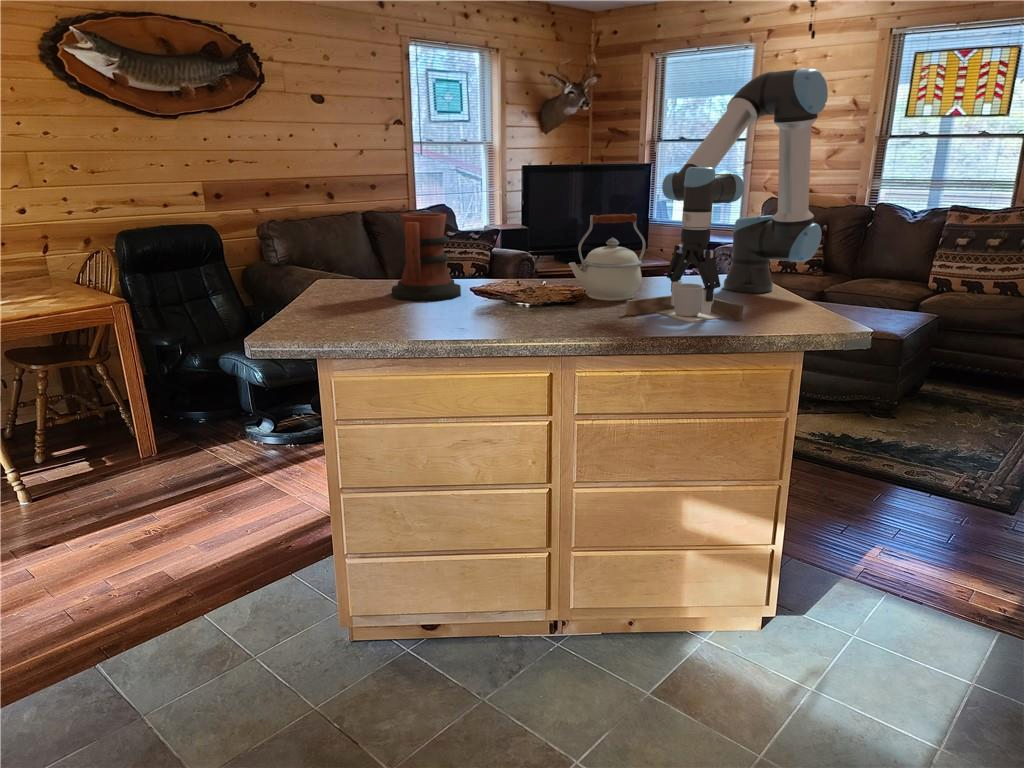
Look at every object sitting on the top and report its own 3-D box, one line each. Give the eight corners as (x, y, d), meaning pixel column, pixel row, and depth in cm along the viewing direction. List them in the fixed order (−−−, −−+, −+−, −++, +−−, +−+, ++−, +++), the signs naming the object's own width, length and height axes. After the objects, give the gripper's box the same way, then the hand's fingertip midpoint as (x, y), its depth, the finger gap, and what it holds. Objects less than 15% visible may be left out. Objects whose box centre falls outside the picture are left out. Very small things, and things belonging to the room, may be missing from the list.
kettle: (628, 289, 238) (632, 210, 230) (656, 299, 221) (661, 215, 214) (557, 294, 230) (558, 213, 223) (580, 305, 214) (582, 218, 206)
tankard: (468, 289, 238) (467, 212, 230) (449, 305, 215) (446, 219, 207) (404, 288, 242) (400, 211, 234) (377, 302, 218) (372, 218, 211)
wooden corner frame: (692, 306, 211) (693, 293, 210) (742, 320, 194) (743, 305, 193) (625, 314, 201) (626, 300, 200) (671, 329, 184) (672, 314, 183)
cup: (711, 313, 202) (714, 284, 199) (713, 319, 194) (715, 289, 192) (671, 311, 204) (673, 282, 201) (671, 317, 196) (673, 287, 194)
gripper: (656, 224, 201) (652, 302, 208) (716, 233, 181) (709, 319, 187) (678, 223, 205) (673, 300, 211) (739, 231, 184) (731, 316, 191)
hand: (690, 309), depth 199 cm, fingers open, 12 cm apart
